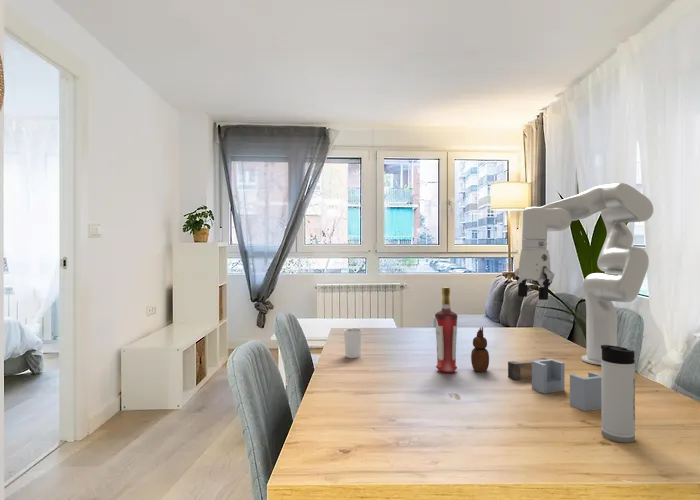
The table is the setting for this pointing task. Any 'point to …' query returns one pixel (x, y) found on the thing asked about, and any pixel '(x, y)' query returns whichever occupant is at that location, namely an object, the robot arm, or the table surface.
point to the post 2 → (586, 391)
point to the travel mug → (618, 393)
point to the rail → (521, 368)
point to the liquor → (446, 335)
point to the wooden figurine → (480, 353)
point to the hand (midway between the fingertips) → (532, 298)
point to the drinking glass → (352, 342)
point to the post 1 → (548, 376)
